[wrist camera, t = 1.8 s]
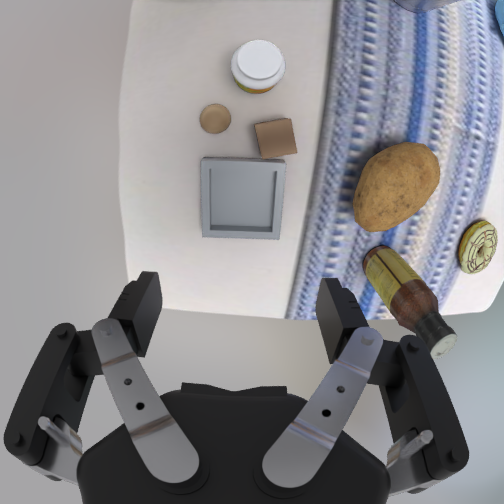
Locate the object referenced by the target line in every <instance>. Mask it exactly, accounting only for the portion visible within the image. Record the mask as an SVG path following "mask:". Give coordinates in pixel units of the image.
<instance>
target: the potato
mask: <svg viewBox="0 0 504 504" xmlns="http://www.w3.org/2000/svg"><path fill="white" fill-rule="evenodd" d="M439 179H440V167H439V163H438V159H437V157H436V156H435V155H434V154H433V153H432V151H431V150H430V149H429V148H428V147H427V146H426V145H425V144H420V143H411V142H403V143H400V144H396V145H393V146H391V147H388V148H386V149H385V150H383V151H381V152H379V153H377V154H376V155H374V156H373V157H372V158H370V159H369V160H368V162H367V163H366V165H365V166H364V168H363V170H362V173H361V176H360V179H359V182H358V185H357V187H356V190H355V194H354V199H353V208H354V214H355V222H356V223H358V224H359V225H360V226H361V227H362V228H363V229H365V230H366V231H369V232H378V231H386V230H388V229H390V228H393V227H395V226H397V225H398V224H400V223H402V222H403V221H405V220H406V219H408V218H409V217H411V216H412V215H413V214H415V213H416V212H417V211H418V210H419V209H420V208H422V207H423V206H424V205H425V203H426V202H427V200H428V199H429V197H430V196H431V195H432V193H433V192H434V190H435V189H436V187H437V186H438V184H439Z"/></svg>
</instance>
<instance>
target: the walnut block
mask: <svg viewBox="0 0 504 504" xmlns="http://www.w3.org/2000/svg"><path fill="white" fill-rule="evenodd" d="M254 126H255V131H256V135H257V140H258V144H259V149H260V153H261V157H262V159H267V158H272V157H278V156H283V155H288V154H294V153H297V148H296V143H295V138H294V133H293V128H292V123H291V119H288V118H284V119H278V120H273V121H267V122H262V123H257V124H254Z"/></svg>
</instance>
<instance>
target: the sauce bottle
mask: <svg viewBox="0 0 504 504" xmlns="http://www.w3.org/2000/svg"><path fill="white" fill-rule="evenodd" d="M363 269H364V272H365V275H366V276H367V279H368V280H369V281H370V283H371V284H372V286H373V287H374V289H375V290H376V292H377V293H378V294H379V296H380V297H381V299H382V300H383V302H384V303H385V305H386V306H387V308H388V310H389V311H390V313H391V314H392V315H393V316H394V317H395V318H396V320H397V321H398V323H399V325H401V326H403V327H405V328H407V329H409V330H410V331H412V332H414V333H416V336H417V337H419V338H420V339H422V340H423V341H424V343H425V344H426V346H427V348H428V350H429V352H430V354H431V356H432V358H433V359H438V358H440V357H442V356H444V355H446V354H447V353H448V352H449V351H450V350H451V349H452V348H453V346H454V345H455V343H456V341H457V335H456V333H455V332H454V330H453V329H452V328H451V327H449V326H448V325H447V324H446V323H445V321H444V320H443V319H442V317H441V315H440V314H439V311H438V300H437V297H436V296H435V295H434V293H433V292H432V291H431V289H429V288H428V286H427V285H426V283H425V282H424V281H423V280H422V279H421V278H420V276H419V275H418V274H417V273H416V272H415V271H414V270H413V269H412V268H411V267H410V266H409V265H408V264H407V263H406V262H405V261H404V259H403V258H402V257H401V256H400V255H399V254H398V253H397V252H396V251H394V250H392V249H391V248H389V247H387V246H379V247H376V248H374V249H372V250H371V251H370V252H369V253H368V254H367V255H366V258H365V259H364V262H363Z"/></svg>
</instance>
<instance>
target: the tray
mask: <svg viewBox="0 0 504 504" xmlns="http://www.w3.org/2000/svg"><path fill="white" fill-rule="evenodd" d="M285 173H286V163H285V161H284V160H275V159H257V158H227V157H204V158H203V159H202V160H201V208H202V237H215V238H245V239H273V240H279V239H280V228H281V218H282V208H283V197H284V185H285Z"/></svg>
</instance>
